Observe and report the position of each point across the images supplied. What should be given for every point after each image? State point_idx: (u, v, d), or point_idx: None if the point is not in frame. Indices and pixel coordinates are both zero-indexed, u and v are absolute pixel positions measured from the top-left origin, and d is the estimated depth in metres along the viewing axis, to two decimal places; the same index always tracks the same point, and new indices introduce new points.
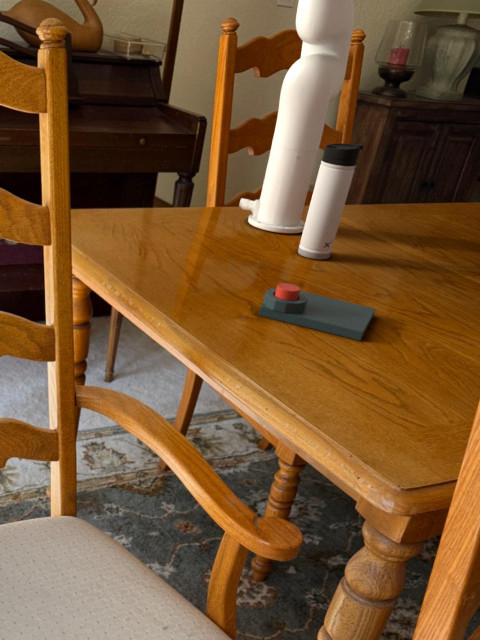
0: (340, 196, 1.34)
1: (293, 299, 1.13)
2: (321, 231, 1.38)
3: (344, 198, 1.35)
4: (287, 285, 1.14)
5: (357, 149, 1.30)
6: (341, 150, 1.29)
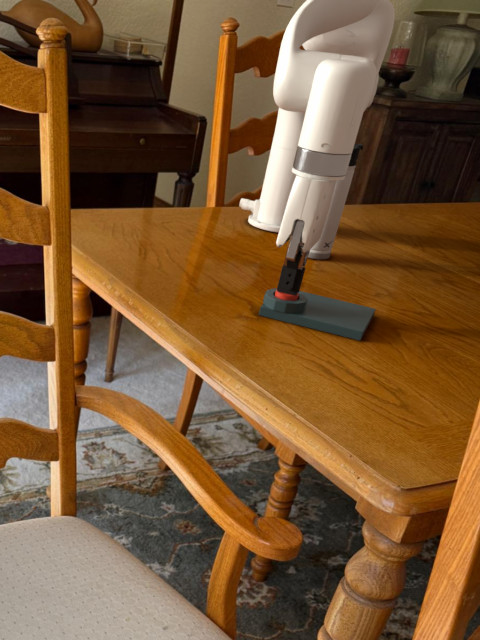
0: (340, 196, 1.34)
1: None
2: None
3: (344, 198, 1.35)
4: None
5: (357, 149, 1.30)
6: None
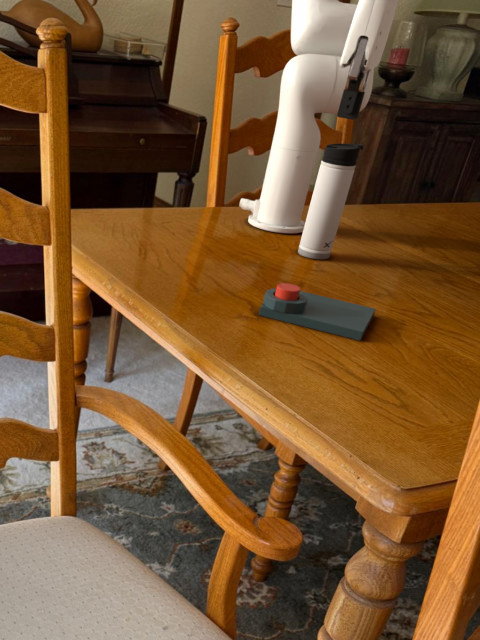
0: (340, 196, 1.34)
1: (293, 299, 1.13)
2: (321, 231, 1.38)
3: (344, 198, 1.35)
4: (287, 285, 1.14)
5: (357, 149, 1.30)
6: (341, 150, 1.29)
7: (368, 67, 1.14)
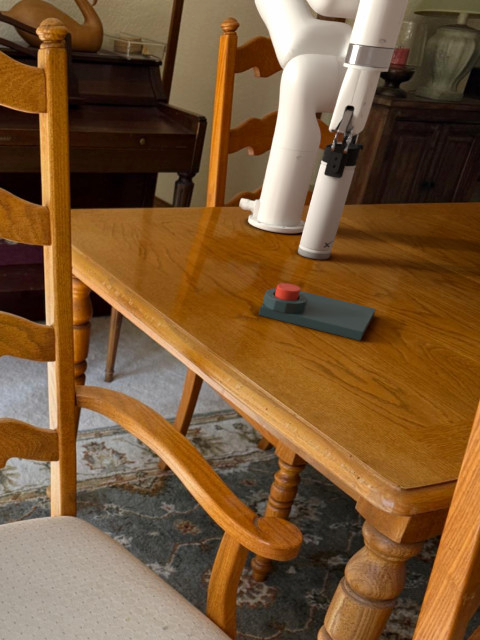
0: (340, 196, 1.34)
1: (293, 299, 1.13)
2: (321, 230, 1.38)
3: (344, 198, 1.35)
4: (287, 285, 1.14)
5: (357, 149, 1.30)
6: None
7: (354, 132, 1.26)
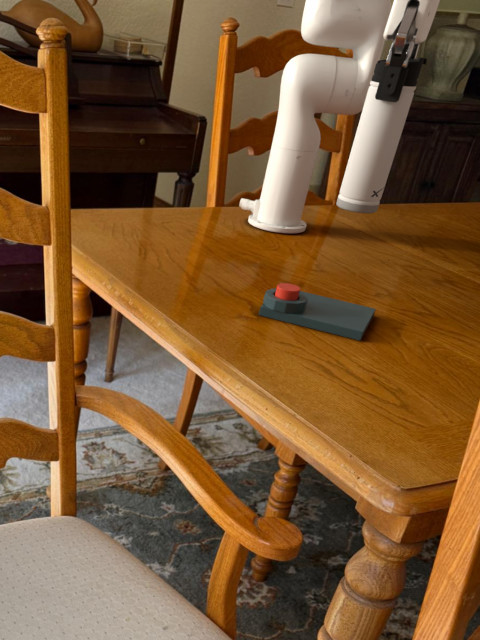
0: (395, 128, 1.03)
1: (293, 299, 1.13)
2: (369, 174, 1.07)
3: (400, 131, 1.04)
4: (287, 285, 1.14)
5: (420, 63, 0.99)
6: None
7: (418, 38, 0.95)
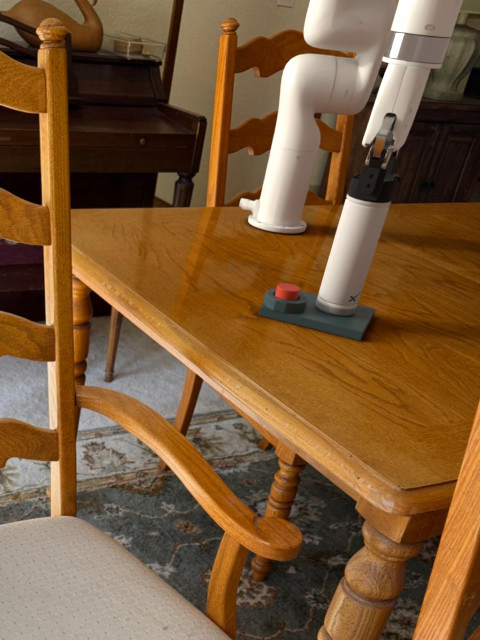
0: (371, 240, 1.06)
1: (293, 299, 1.13)
2: (346, 281, 1.10)
3: (375, 242, 1.07)
4: (287, 285, 1.14)
5: (394, 181, 1.02)
6: None
7: (396, 148, 0.97)
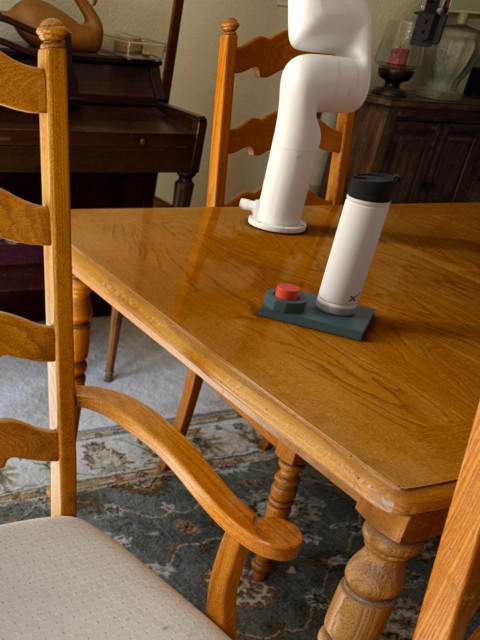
0: (371, 240, 1.06)
1: (293, 299, 1.13)
2: (346, 281, 1.10)
3: (375, 242, 1.07)
4: (287, 285, 1.14)
5: (394, 181, 1.02)
6: (373, 183, 1.01)
7: None
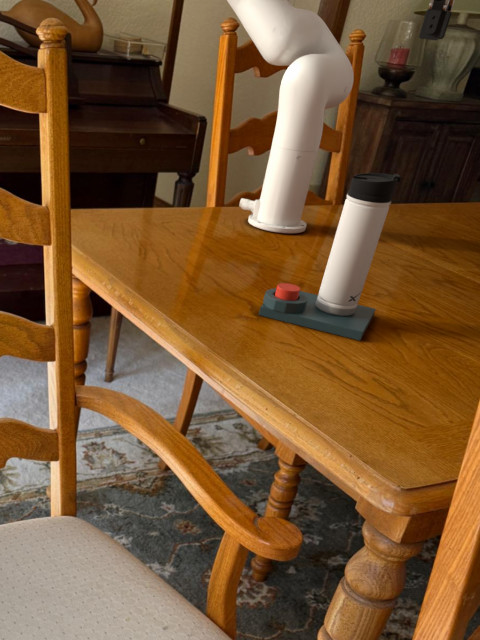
0: (371, 240, 1.06)
1: (293, 299, 1.13)
2: (346, 281, 1.10)
3: (375, 242, 1.07)
4: (287, 285, 1.14)
5: (394, 181, 1.02)
6: (373, 183, 1.01)
7: None
